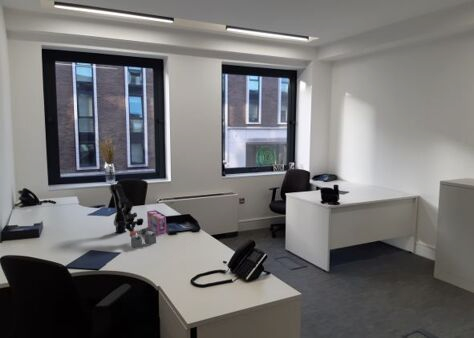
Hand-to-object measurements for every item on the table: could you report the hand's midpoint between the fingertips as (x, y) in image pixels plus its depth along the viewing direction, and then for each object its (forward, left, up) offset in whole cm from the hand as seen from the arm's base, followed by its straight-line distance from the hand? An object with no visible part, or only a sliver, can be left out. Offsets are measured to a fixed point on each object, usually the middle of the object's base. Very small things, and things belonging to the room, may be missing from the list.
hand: (132, 233), depth 260 cm
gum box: (-2, +34, -8) cm, 35 cm away
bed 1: (+6, -5, -7) cm, 11 cm away
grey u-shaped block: (+11, +5, -7) cm, 14 cm away
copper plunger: (+4, -3, -3) cm, 5 cm away
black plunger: (+9, +6, -3) cm, 11 cm away
